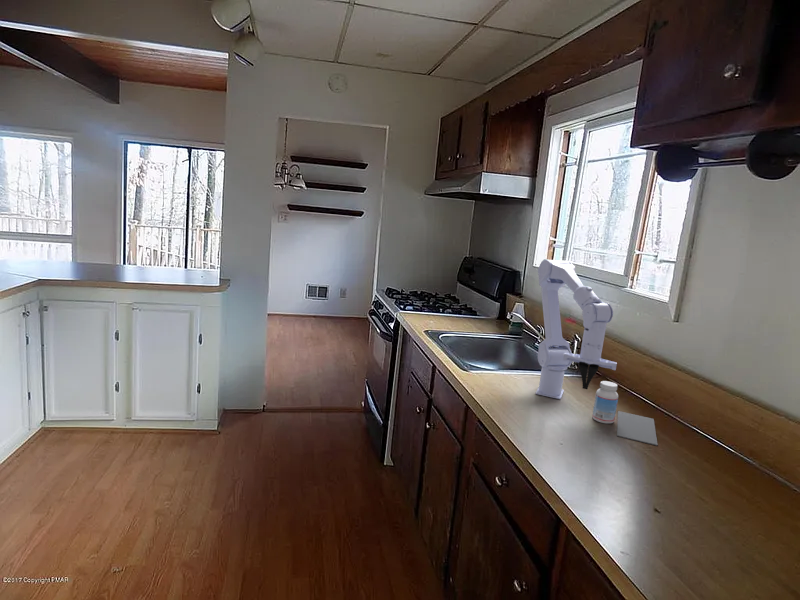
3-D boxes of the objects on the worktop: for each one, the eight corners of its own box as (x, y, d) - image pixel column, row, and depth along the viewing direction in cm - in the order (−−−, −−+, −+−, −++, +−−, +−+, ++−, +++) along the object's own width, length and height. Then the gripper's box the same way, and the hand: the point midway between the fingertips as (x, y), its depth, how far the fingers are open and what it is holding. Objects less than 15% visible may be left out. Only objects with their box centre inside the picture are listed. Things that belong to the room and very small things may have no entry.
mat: (617, 411, 158) (618, 410, 157) (653, 419, 154) (653, 418, 154) (617, 436, 139) (617, 435, 139) (657, 445, 136) (657, 444, 136)
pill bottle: (618, 424, 148) (625, 387, 146) (599, 424, 146) (606, 387, 144) (605, 415, 154) (611, 380, 152) (587, 415, 152) (593, 379, 150)
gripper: (565, 341, 147) (558, 386, 150) (619, 351, 142) (611, 397, 144) (567, 336, 154) (560, 379, 156) (619, 346, 148) (611, 390, 151)
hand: (585, 388), depth 151 cm, fingers closed
